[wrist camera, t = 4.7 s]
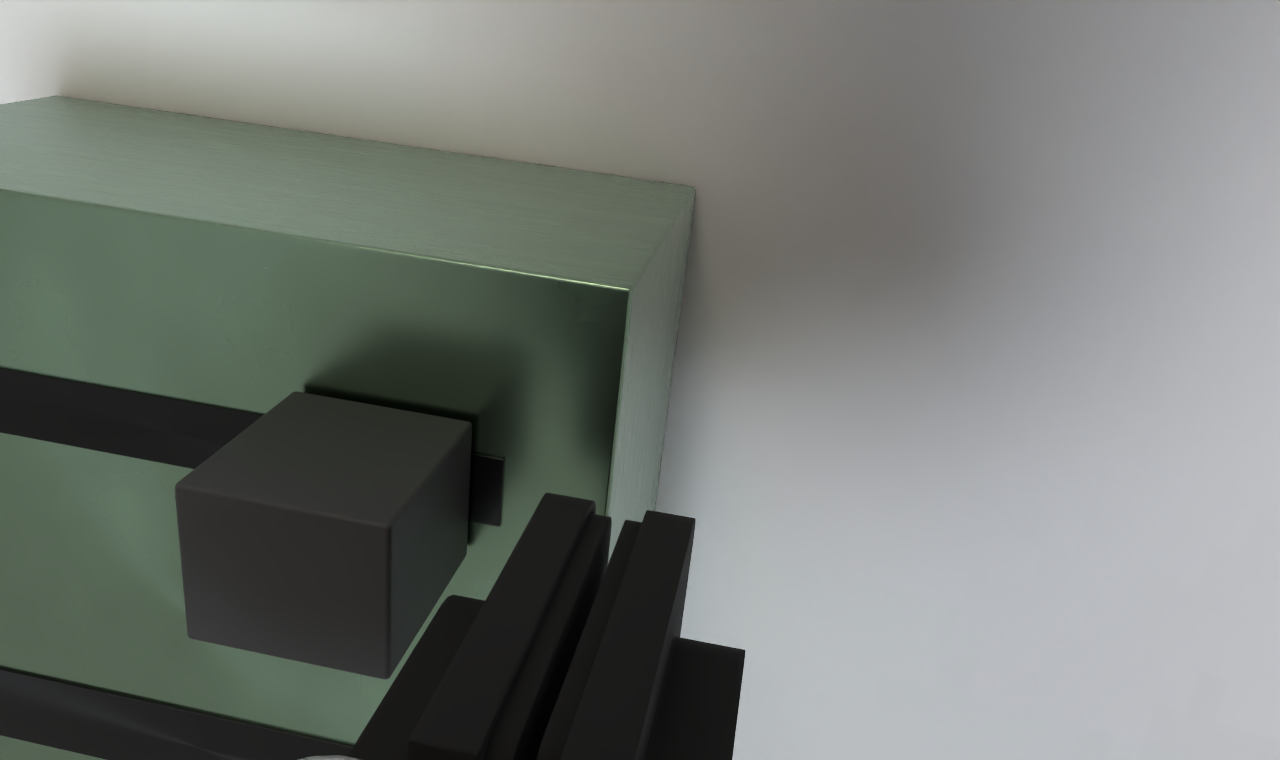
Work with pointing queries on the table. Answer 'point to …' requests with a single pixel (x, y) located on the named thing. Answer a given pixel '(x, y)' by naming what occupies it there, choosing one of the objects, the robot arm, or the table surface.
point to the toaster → (286, 385)
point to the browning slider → (325, 532)
